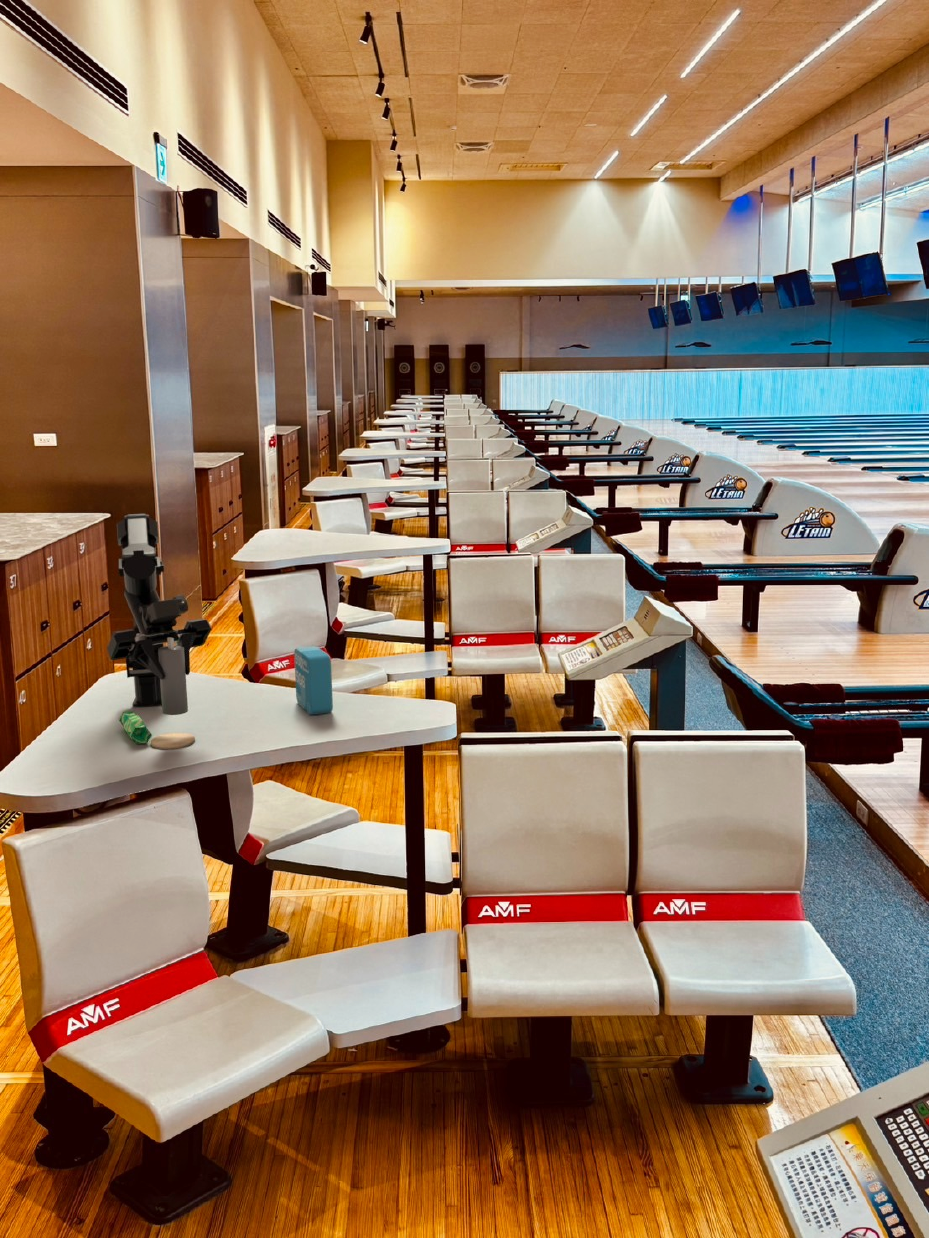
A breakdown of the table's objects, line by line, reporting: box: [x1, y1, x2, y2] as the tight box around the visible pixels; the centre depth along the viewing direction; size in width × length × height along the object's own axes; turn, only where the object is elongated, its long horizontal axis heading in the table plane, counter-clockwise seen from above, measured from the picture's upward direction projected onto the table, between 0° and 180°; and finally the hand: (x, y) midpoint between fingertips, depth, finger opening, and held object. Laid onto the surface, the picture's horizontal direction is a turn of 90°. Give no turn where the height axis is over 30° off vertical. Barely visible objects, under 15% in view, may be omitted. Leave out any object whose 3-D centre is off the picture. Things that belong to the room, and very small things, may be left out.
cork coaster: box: [150, 732, 196, 750], centre depth 211 cm, size 8×8×1 cm
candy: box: [118, 711, 153, 745], centre depth 215 cm, size 12×3×4 cm
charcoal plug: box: [158, 637, 189, 716], centre depth 209 cm, size 5×5×14 cm
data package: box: [293, 645, 334, 716], centre depth 232 cm, size 12×4×12 cm, turn 23°
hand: (175, 675), depth 208 cm, fingers closed on charcoal plug, 5 cm apart
